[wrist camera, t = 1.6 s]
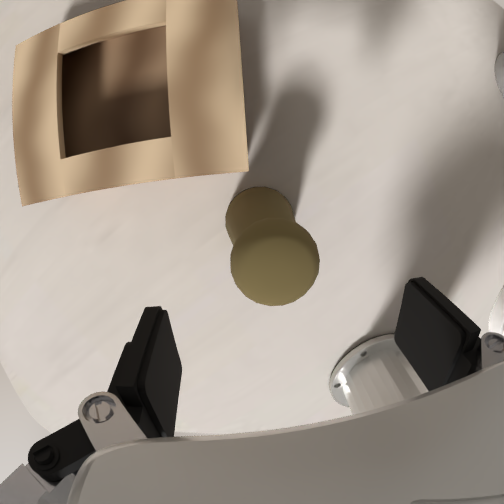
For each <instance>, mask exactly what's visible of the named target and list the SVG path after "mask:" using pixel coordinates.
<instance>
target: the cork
mask: <svg viewBox="0 0 504 504" xmlns="http://www.w3.org/2000/svg"><path fill="white" fill-rule="evenodd" d="M225 217H226V229H227V231H228V234H229V237H230V239H231V241H232V244H233V249H232V252H231V258H230V259H231V273H232V276H233V279H234V281H235V284H236V285H237V287H238V288H239V289H240V290H241V291H242V293H243V294H244V295H245V296H246V297H248V298H249V299H251V300H253V301H254V302H256V303H260V304H264V305H268V306H279V305H285V304H288V303H291V302H294V301H296V300H297V299H299V298H300V297H302V296H303V295H304V294H305V293H306V292H307V291H308V290H309V289H310V288H311V286H312V285H313V284H314V282H315V279H316V277H317V275H318V272H319V262H320V259H319V253H318V249H317V245H316V243H315V241H314V240H313V238H312V237H311V235H310V234H309V232H308V231H307V230H306V229H304V228H303V227H302V226H300V225H299V224H298V223H296V221H295V218H294V215H293V211H292V208H291V205H290V204H289V202H288V201H287V199H286V198H285V197H284V196H283V195H282V194H280V193H279V192H278V191H276V190H273V189H270V188H267V187H253V188H250V189H247V190H244V191H243V192H241V193H240V194H239V195H237V196H236V197H235V198H234V199H233V201H232V202H231V203H230V205H229V206H228V210H227V213H226V216H225Z"/></svg>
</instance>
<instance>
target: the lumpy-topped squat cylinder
mask: <svg viewBox="0 0 504 504" xmlns="http://www.w3.org/2000/svg"><path fill="white" fill-rule="evenodd" d="M495 76H496V81H497V84H498V87H499V89H500V92H501V94H502V96H503V98H504V52H502V53H501V54H499V55H498V57H497V59H496V63H495Z"/></svg>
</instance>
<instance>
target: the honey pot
mask: <svg viewBox="0 0 504 504" xmlns="http://www.w3.org/2000/svg"><path fill="white" fill-rule="evenodd" d="M488 327H489V332H495V333H499V334H501V335H503V336H504V286H503V288H502V290H501V291H500V293H499V295H498V297H497V299H496V301H495V303H494V305H493V308H492V311H491V314H490V318H489V325H488Z"/></svg>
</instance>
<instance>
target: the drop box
mask: <svg viewBox="0 0 504 504" xmlns="http://www.w3.org/2000/svg"><path fill="white" fill-rule="evenodd" d="M12 116H13V138H14V151H15V161H16V170H17V178H18V185H19V191H20V197H21V202H22V206H26V205H30V204H34V203H38V202H42V201H47V200H51V199H56V198H60V197H65V196H70V195H75V194H80V193H85V192H90V191H96V190H101V189H107V188H113V187H119V186H125V185H131V184H138V183H145V182H152V181H159V180H167V179H175V178H183V177H192V176H201V175H211V174H222V173H233V172H246V171H249V166H248V151H247V136H246V122H245V107H244V92H243V78H242V63H241V49H240V34H239V20H238V6H237V0H125V1H122V2H118V3H115V4H112V5H108V6H105V7H102V8H99V9H96V10H93V11H91V12H88V13H85V14H82V15H80V16H77V17H75V18H72V19H70V20H67V21H65V22H63V23H60V24H58V25H56V26H53V27H51V28H49V29H47V30H45V31H43V32H41V33H39V34H37V35H35V36H33V37H31V38H29V39H27V40H25V41H23V42H22V43H20V44H18V45H16V49H15V59H14V71H13V94H12Z"/></svg>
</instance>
